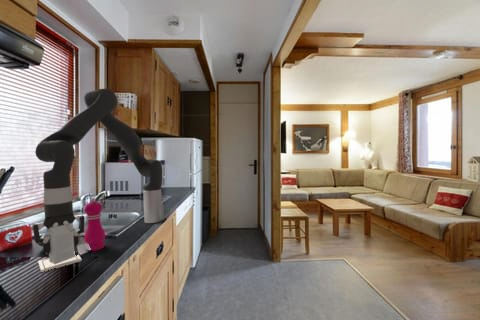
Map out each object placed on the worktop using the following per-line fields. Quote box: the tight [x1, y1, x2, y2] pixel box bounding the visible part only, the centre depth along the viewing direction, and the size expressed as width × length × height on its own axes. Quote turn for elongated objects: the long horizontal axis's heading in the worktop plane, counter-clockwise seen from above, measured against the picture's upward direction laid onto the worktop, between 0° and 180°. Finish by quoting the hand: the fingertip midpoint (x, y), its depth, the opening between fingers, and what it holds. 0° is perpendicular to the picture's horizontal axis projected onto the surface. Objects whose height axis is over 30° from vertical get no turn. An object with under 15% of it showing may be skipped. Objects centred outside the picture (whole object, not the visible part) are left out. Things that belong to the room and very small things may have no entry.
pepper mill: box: [83, 197, 106, 252], centre depth 95 cm, size 7×7×20 cm
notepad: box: [37, 254, 83, 273], centre depth 84 cm, size 11×10×1 cm
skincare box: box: [46, 222, 76, 264], centre depth 80 cm, size 6×4×12 cm
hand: (61, 249), depth 80 cm, fingers closed on skincare box, 6 cm apart
